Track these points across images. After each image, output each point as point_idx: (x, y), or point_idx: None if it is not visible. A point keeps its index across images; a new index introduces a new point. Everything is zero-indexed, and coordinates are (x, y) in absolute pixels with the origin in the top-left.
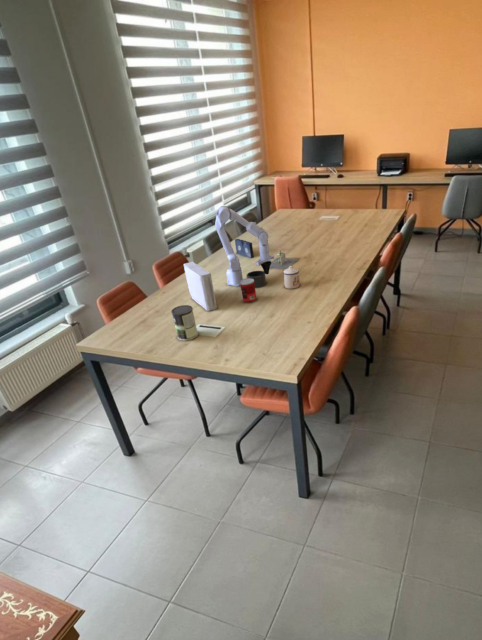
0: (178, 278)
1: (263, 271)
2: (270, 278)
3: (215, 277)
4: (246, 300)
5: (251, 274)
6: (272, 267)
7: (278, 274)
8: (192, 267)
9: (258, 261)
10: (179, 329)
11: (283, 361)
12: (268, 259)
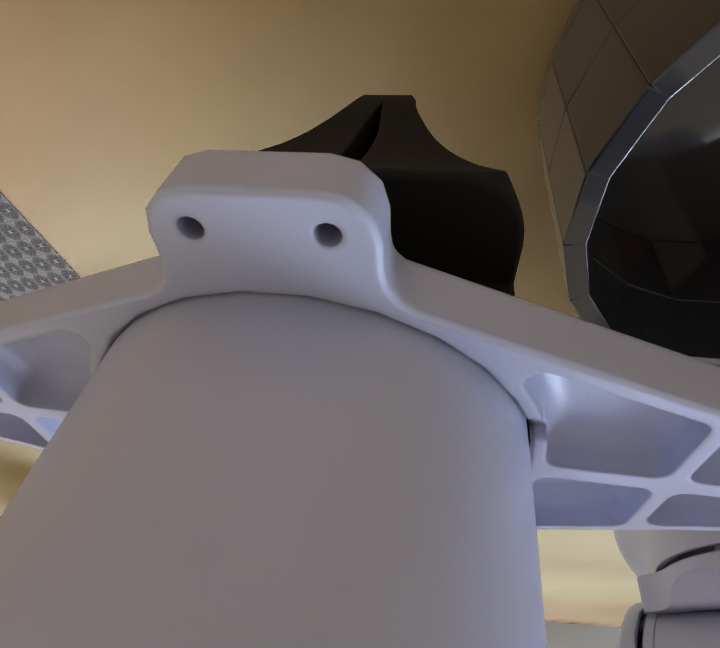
0: (600, 621)
1: (629, 127)
2: (349, 42)
3: (538, 532)
4: None
5: (672, 330)
6: None
7: (115, 33)
8: None
9: (650, 508)
10: None
11: None
12: (304, 300)
